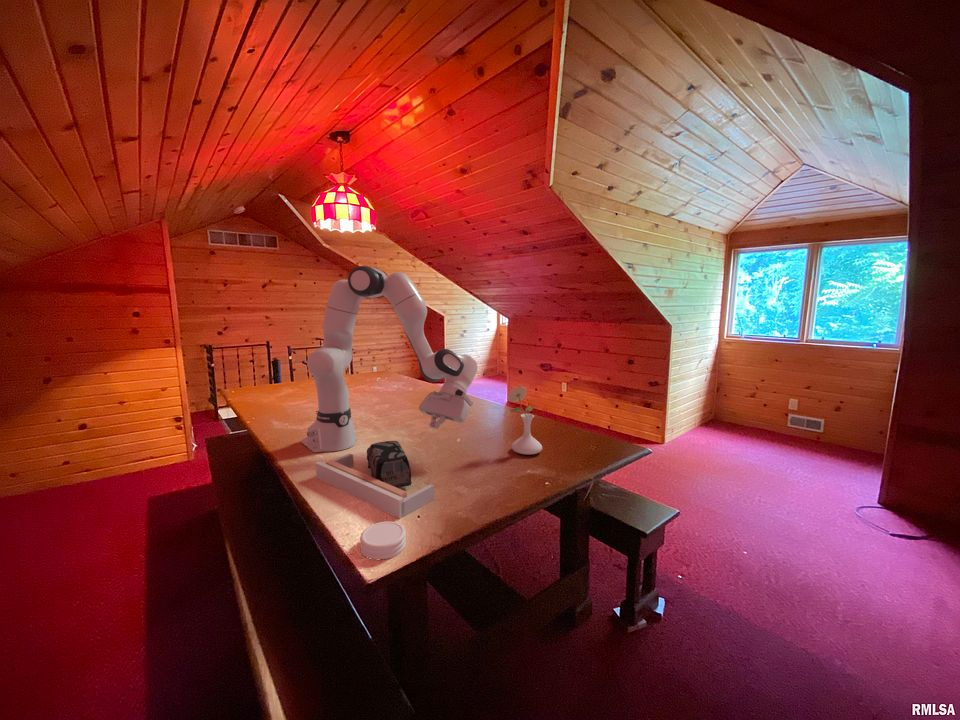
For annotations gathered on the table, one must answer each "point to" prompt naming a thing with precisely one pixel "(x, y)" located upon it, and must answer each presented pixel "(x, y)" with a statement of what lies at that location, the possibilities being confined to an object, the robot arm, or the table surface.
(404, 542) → the coaster
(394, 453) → the black mottled block
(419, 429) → the table surface
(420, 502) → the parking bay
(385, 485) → the tan wooden bar
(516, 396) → the flower in vase
